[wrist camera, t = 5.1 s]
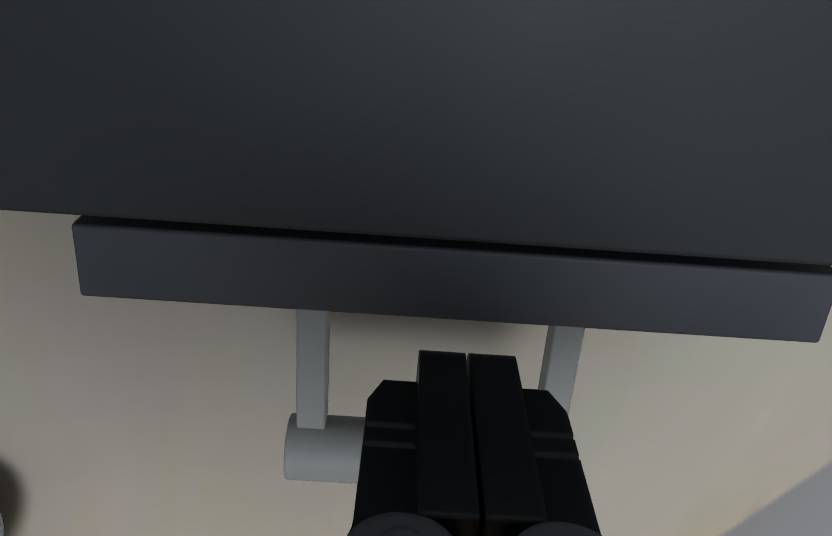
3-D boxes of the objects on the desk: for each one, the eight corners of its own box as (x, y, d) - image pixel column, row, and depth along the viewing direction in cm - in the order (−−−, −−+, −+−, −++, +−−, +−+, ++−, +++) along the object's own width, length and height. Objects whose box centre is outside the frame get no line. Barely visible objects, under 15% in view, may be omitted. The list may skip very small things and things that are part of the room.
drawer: (626, 372, 21) (728, 604, 14) (217, 346, 21) (116, 570, 14) (841, -571, 13) (1334, -1121, 6) (170, -637, 13) (-137, -1296, 6)
